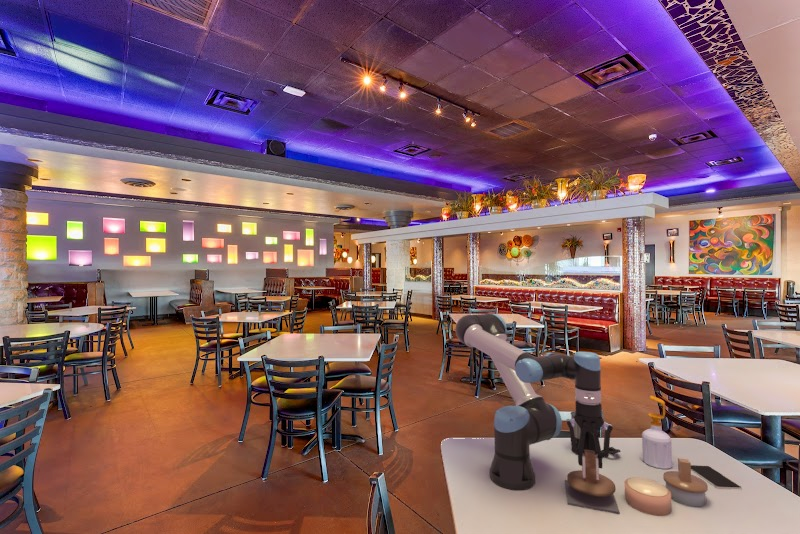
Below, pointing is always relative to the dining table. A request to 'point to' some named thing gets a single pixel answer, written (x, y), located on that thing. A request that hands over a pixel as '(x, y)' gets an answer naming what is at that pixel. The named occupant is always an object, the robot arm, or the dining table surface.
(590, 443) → the milk frother
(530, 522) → the dining table surface
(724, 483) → the smartphone
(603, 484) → the walnut lid
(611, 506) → the rubber mat
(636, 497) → the terracotta bowl
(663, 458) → the soap bottle
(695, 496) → the slate bowl covered
